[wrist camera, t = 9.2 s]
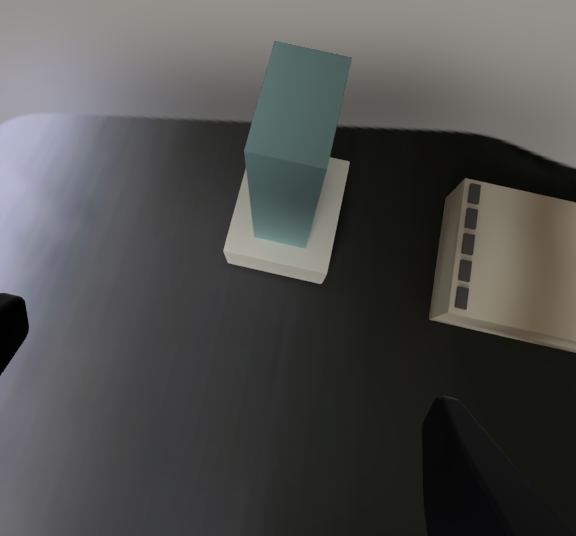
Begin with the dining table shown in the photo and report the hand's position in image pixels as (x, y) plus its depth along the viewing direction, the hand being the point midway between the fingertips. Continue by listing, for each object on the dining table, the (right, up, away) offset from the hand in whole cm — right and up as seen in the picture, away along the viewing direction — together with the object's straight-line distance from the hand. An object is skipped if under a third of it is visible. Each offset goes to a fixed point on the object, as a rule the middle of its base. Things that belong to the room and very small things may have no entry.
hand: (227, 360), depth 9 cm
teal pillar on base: (+1, +4, +14) cm, 15 cm away
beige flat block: (+14, +2, +14) cm, 20 cm away
